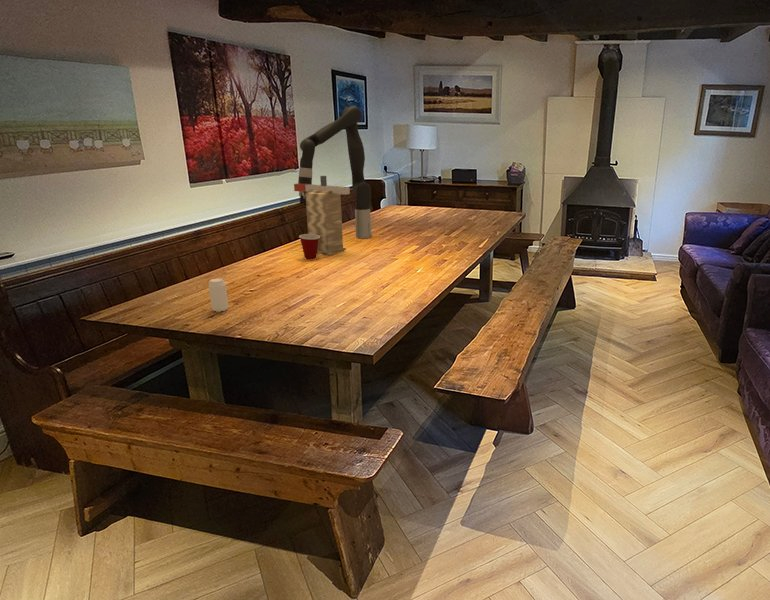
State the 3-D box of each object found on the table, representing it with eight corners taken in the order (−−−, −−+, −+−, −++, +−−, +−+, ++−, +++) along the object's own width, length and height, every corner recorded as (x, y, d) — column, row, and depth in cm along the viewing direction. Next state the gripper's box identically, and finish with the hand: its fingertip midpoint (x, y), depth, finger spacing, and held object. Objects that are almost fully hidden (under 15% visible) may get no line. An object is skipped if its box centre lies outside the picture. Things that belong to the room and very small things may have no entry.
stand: (306, 252, 292) (302, 190, 281) (324, 247, 302) (320, 187, 292) (328, 255, 282) (325, 192, 272) (345, 250, 293) (342, 189, 283)
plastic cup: (317, 261, 273) (316, 237, 269) (297, 260, 275) (295, 237, 271) (324, 256, 283) (322, 233, 279) (304, 255, 285) (303, 233, 281)
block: (294, 191, 291) (293, 174, 289) (299, 190, 294) (298, 174, 292) (345, 194, 271) (344, 177, 268) (350, 194, 274) (349, 176, 271)
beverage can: (208, 312, 202) (204, 282, 198) (216, 307, 208) (212, 277, 204) (224, 313, 201) (220, 282, 197) (231, 307, 207) (227, 277, 203)
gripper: (315, 177, 297) (313, 207, 302) (308, 175, 310) (306, 203, 314) (302, 176, 294) (300, 206, 299) (295, 174, 307) (294, 203, 311)
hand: (303, 204), depth 306 cm, fingers open, 8 cm apart
